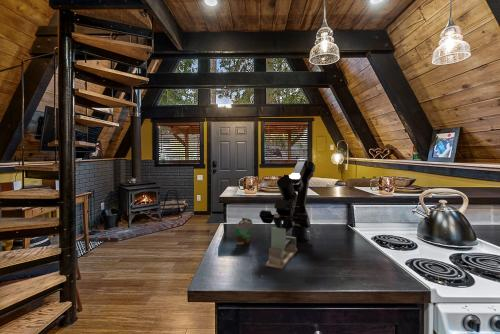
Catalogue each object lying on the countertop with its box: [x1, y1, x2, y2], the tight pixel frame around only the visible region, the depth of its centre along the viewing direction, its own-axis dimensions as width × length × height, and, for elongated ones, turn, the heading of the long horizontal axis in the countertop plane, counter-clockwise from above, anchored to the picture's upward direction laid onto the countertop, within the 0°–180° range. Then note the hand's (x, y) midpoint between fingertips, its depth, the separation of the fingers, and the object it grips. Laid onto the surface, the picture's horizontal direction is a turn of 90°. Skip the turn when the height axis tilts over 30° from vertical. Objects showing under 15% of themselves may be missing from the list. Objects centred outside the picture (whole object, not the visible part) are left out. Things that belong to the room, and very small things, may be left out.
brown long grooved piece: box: [265, 235, 298, 270], centre depth 104 cm, size 20×6×6 cm, turn 155°
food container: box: [235, 217, 254, 247], centre depth 121 cm, size 12×6×10 cm, turn 168°
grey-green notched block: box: [270, 226, 287, 257], centre depth 99 cm, size 3×5×10 cm, turn 65°
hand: (279, 238), depth 99 cm, fingers closed, pressing on grey-green notched block
